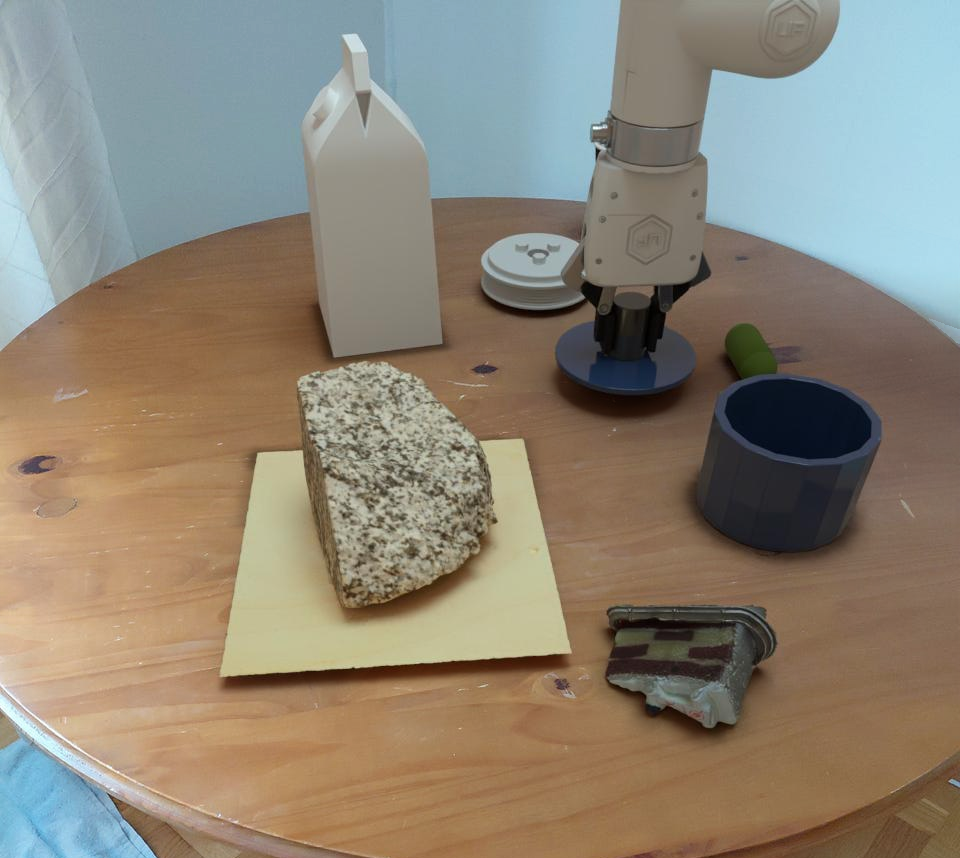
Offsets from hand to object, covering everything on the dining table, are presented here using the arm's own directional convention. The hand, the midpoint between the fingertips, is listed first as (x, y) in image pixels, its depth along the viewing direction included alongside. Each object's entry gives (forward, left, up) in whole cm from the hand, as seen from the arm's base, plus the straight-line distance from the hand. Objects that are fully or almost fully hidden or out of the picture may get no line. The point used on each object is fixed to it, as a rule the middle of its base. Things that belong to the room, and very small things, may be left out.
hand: (626, 344), depth 85 cm
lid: (+6, -20, -4) cm, 21 cm away
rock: (+23, +23, -4) cm, 33 cm away
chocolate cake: (+4, +39, -4) cm, 39 cm away
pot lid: (0, 0, -1) cm, 1 cm away
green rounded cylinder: (-13, -1, -4) cm, 14 cm away
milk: (+24, -14, -4) cm, 28 cm away
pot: (-9, +20, -4) cm, 22 cm away
